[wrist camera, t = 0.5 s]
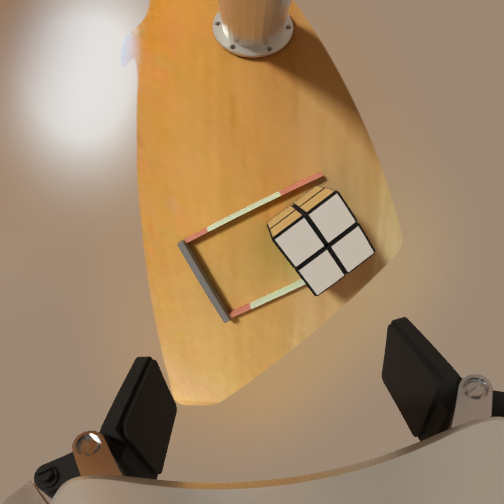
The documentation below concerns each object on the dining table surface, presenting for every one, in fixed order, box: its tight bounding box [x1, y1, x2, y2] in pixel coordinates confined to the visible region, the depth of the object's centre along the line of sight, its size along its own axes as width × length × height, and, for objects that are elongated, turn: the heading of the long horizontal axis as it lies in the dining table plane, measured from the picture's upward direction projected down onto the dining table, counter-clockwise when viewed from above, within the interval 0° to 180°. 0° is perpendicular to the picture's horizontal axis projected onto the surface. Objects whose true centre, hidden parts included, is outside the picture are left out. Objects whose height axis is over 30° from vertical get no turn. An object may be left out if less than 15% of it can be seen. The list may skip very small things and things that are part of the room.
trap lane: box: [177, 172, 323, 323], centre depth 43 cm, size 15×24×2 cm, turn 117°
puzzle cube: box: [267, 186, 375, 296], centre depth 38 cm, size 10×10×10 cm
